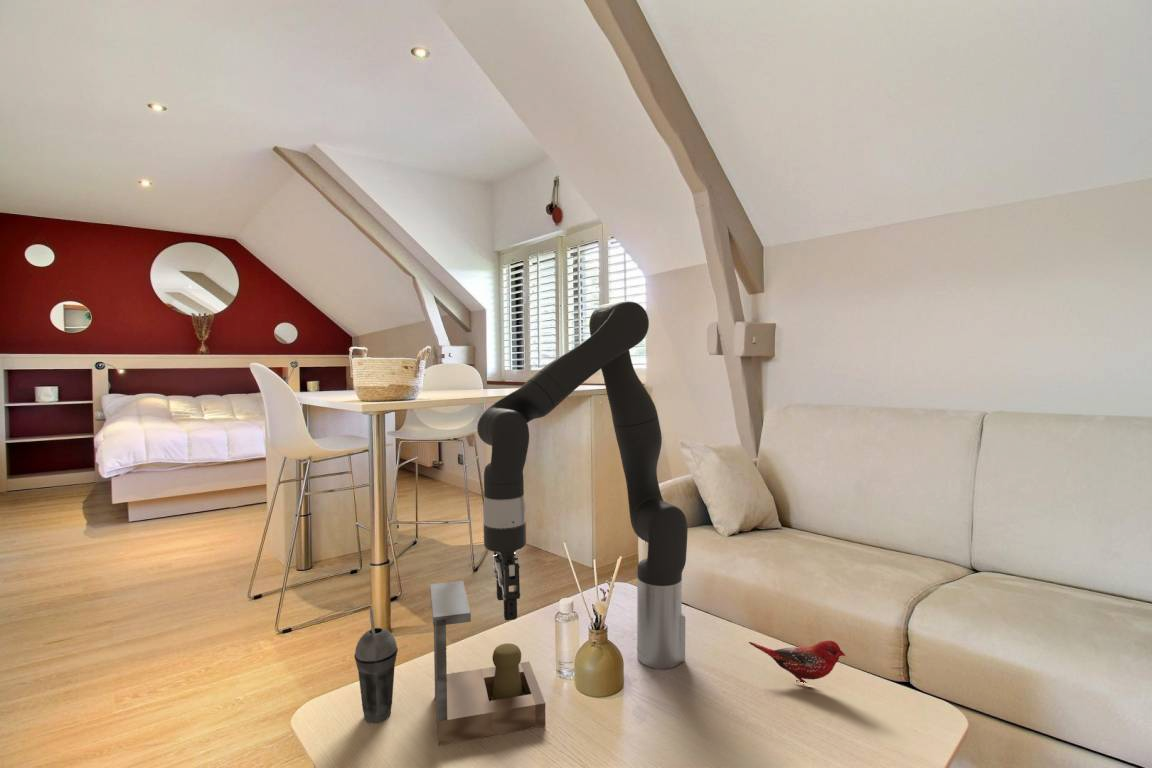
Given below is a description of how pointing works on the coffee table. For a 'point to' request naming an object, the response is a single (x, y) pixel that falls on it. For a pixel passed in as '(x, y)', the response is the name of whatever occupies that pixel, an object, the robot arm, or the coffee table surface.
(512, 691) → the cork
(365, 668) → the beverage cup
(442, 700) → the socket stand
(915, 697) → the coffee table surface
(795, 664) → the decorative bird figurine
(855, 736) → the coffee table surface
